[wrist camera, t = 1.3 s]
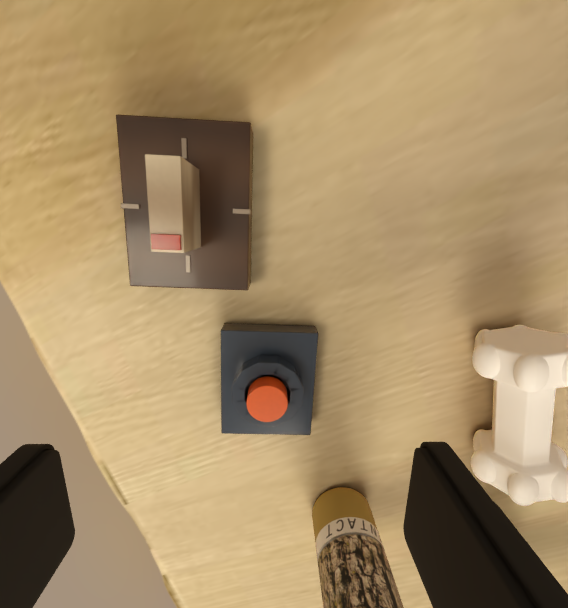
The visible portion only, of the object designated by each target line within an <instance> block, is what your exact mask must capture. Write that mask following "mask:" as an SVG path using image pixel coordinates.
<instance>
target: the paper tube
mask: <svg viewBox="0 0 568 608" xmlns="http://www.w3.org/2000/svg"><path fill="white" fill-rule="evenodd" d="M312 518H313V526H314V534H315V542H316V552H317V559H318V567H319V575H320V583H321V591H322V599H323V607H324V608H403V605H402V602H401V599H400V596H399V593H398V590H397V587H396V584H395V581H394V578H393V575H392V572H391V569H390V566H389V563H388V560H387V557H386V554H385V551H384V548H383V545H382V542H381V539H380V536H379V533H378V530H377V527H376V524H375V521H374V518H373V515H372V512H371V509H370V506H369V504H368V502H367V500H366V498H365V497H364V496H363V495H362V494H360V493H359V492H358V491H356V490H354V489H351V488H345V487H339V488H334V489H331V490H328V491H326V492H325V493H323V494H322V495H321V496H320V497H319V498H318V499H317V501H316V502H315V504H314V506H313V510H312Z"/></svg>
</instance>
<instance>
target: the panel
mask: <svg viewBox="0 0 568 608" xmlns="http://www.w3.org/2000/svg"><path fill="white" fill-rule="evenodd" d="M116 120H117V132H118V144H119V156H120V169H121V181H122V193H123V203H121V208H124V217H125V229H126V241H127V253H128V265H129V277H130V286H148V287H174V288H201V289H228V290H248V288H249V286H250V283H251V229H252V173H253V131H252V127H251V123H250V122H233V121H216V120H199V119H182V118H165V117H148V116H131V115H116ZM145 154H153V155H171V156H181V157H182V158H184V159H185V160H187V161H188V162H189V163H191V164H192V165H194V166H195V167H196V168H198V169H199V179H200V223H201V247H200V248H197V249H194V250H191V251H188V252H185V253H169V252H151V243H150V227H149V211H148V196H147V180H146V164H145Z"/></svg>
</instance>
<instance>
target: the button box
mask: <svg viewBox="0 0 568 608" xmlns="http://www.w3.org/2000/svg"><path fill="white" fill-rule="evenodd" d="M317 343H318V332H317V330H316V327H315V326H299V325H269V324H238V323H224V325H223V327H222V329H221V423H222V433H233V434H285V435H310V433H311V421H312V408H313V395H314V382H315V369H316V356H317ZM265 376H270V377H275V378H277V379H279V380H280V381H281V382H282V383H283V384H284V385H285V387H286V389H287V398H288V407H287V410H286V412H285V413H284V415H283V416H282V417H281V418H279V419H277V420H275V421H272V422H262V421H259V420H257V419H255V418H254V417H252V416H251V415H250V413H249V412H248V409H247V405H246V402H247V395H248V390H249V387H250V385H251V384H252V383H253V382H254V381H255V380H256V379H258V378H261V377H265Z"/></svg>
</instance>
